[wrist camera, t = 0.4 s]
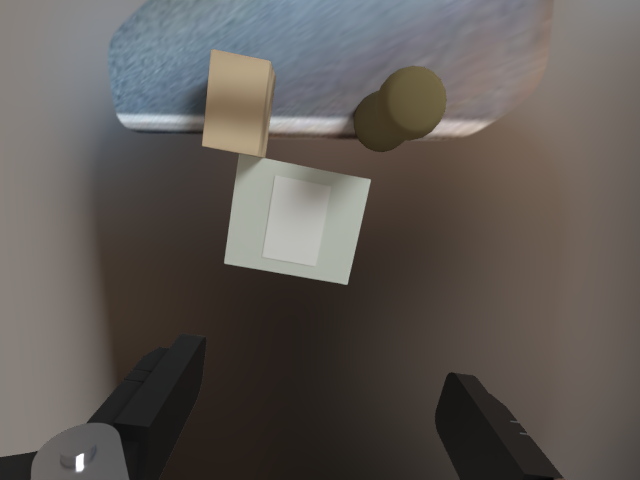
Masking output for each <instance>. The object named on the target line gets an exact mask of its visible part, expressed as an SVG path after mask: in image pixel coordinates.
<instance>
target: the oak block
mask: <svg viewBox="0 0 640 480" xmlns="http://www.w3.org/2000/svg"><path fill="white" fill-rule="evenodd" d="M275 81H276V76H275V73H274V70H273V67H272V64H271V62H270V61H268V60H263V59H258V58H253V57H248V56H243V55H238V54H234V53H229V52H224V51H219V50H214V49H211V58H210V68H209V79H208V89H207V100H206V110H205V121H204V131H203V142H202V146H205V147H209V148H214V149H219V150H224V151H229V152H235V153H240V154H246V155H251V156H257V157H262V158H265V155H266V147H267V140H268V132H269V124H270V117H271V110H272V102H273V95H274V88H275Z"/></svg>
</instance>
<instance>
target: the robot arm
mask: <svg viewBox="0 0 640 480" xmlns="http://www.w3.org/2000/svg"><path fill="white" fill-rule="evenodd" d="M206 342H207V339H206V337H205V336H197V335H191V334H184V333H182V334H180V335H179V337H178V338H177V339H176V341H175V342H174V343H173V345H172V346H171V347H170V348H162V347H159V348H157V349H155V350H154V351H152V352H150V353H148V354H147V355H145V356H143V358H142V359H141V360H140V361H139V362H138V364H137V365H136V366H135V367H134V368H133V371H131V372H130V373H129V374H128V375H127V376H126V378H125V379H124V381H123V382H121V383H120V384H119V386H118V387H117V388H116V389H115V390H114V392H113V393H112V394H111V395H110V396H109V397H108V398H107V400H106V401H105V402H104V403H103V404H102V405H101V407H100V408H99V409H98V410H97V411H96V412H95V414H94V415H93V416H92V417H91V418H90V419H89V421H88V422H87V423H86V424H82V425H78V426H75V427H72V428H70V429H67V430H65V431H63V432H61V433H59V434H58V435H56V436H55V437H53V438H52V439H50V440H49V441H48V442H47V443H46V444H44V445H43V447H42V448H41V449H40V450H39V451H36V452H31V453H25V454H19V455H12V456H6V457H0V480H159V478H160V476H161V474H162V472H163V470H164V468H165V466H166V464H167V461H168V459H169V457H170V455H171V453H172V451H173V449H174V447H175V445H176V443H177V440H178V438H179V436H180V434H181V432H182V430H183V428H184V426H185V424H186V422H187V419H188V417H189V415H190V413H191V411H192V409H193V407H194V405H195V403H196V400H197V398H198V395H199V392H200V388H201V384H202V379H203V370H204V361H205V352H206ZM435 424H436V429H437V432H438V434H439V436H440V438H441V441H442V442H443V444H444V447H445V449H446V451H447V453H448V455H449V457H450V459H451V462H452V464H453V466H454V468H455V470H456V472H457V474H458V476H459V478H460V480H568V479H564V478H563V477H562V475H561V474H560V473H559V472H558V470H557V469H556V468H555V467H554V465H552V463H551V462H550V461H549V459H548V458H547V457H546V455H545V454H544V453H543V452H542V451H541V449H540V448H539V447H538V446H537V444H536V443H535V442H534V441H533V439H532V438H531V437H530V436H528V435H527V432H526V431H525V429H524V428H523V427H522V426H521V425H520V424H519V423H517V420H516V418H515V417H514V416H513V415H512V413H511V412H510V411H509V410H508V408H507V407H506V406H505V405H503V404H502V403H501V402H500V401H499V400H497V399H496V398H495V397H494V396H492V395H491V394H489V393H488V392H487V390H486V389H485V388H484V387H483V385H482V384H481V383H480V381H479V380H478V379H477V378H476V377H475V376H473V375H466V374H460V373H452V372H451V373H449V374H448V375H447V377H446V380H445V383H444V386H443V390H442V393H441V396H440V399H439V402H438V405H437V408H436V413H435Z"/></svg>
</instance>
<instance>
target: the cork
mask: <svg viewBox="0 0 640 480" xmlns="http://www.w3.org/2000/svg"><path fill="white" fill-rule="evenodd" d="M446 101H447V99H446V92H445V88H444V86H443V83H442V81H441V79H440V78H439V77H438V76H437V75H436V74H435V73H434V72H433V71H431V70H429V69H427V68H425V67H418V66H410V67H406V68H402V69H399V70H398V71H396V72H395V73H393V74H391V75H390V76H389V77H388V79H387V80H386V81H385V82H384V83H383V85H382V86H381V88H380V90H379V91H376V92H374V93H372V94H370V95H369V96H367V97H366V98H364V99H363V101H362V102H361V103H360V104H359V105H358V108H357V110H356V112H355V115H354V129H355V133H356V135H357V137H358V139H359V141H360V142H361V143H362V144H363V145H364V146H365V147H366V148H368V149H371V150H373V151H378V152H385V151H389V150H392V149H394V148H396V147H397V146H399V145H400V144H401V143H403V142H404V141H405V140H408V141H410V140H414V139H418V138H422V137H424V136H425V135H427V134H429V133H430V132H432V130H433V129H434V128H435V127H436V126H437V125H438V124H439V122H440V121H441V119H442V117H443V114H444V112H445V108H446Z"/></svg>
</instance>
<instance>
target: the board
mask: <svg viewBox="0 0 640 480" xmlns="http://www.w3.org/2000/svg"><path fill="white" fill-rule="evenodd" d="M370 181H371V180H370V179H365V178H360V177H355V176H350V175H345V174H340V173H335V172H330V171H325V170H320V169H315V168H310V167H305V166H300V165H295V164H290V163H285V162H280V161H275V160H270V159H265V158H260V157H255V156H250V155H245V154H240V153H239V156H238V165H237V171H236V179H235V186H234V194H233V201H232V208H231V217H230V223H229V231H228V238H227V246H226V253H225V260H224V263H225V264H230V265H236V266H241V267H248V268H253V269H259V270H265V271H271V272H276V273H282V274H288V275H294V276H300V277H306V278H311V279H317V280H323V281H329V282H335V283H341V284H346V285H347V284H348V279H349V275H350V271H351V266H352V262H353V257H354V253H355V248H356V244H357V239H358V235H359V230H360V226H361V222H362V217H363V213H364V208H365V204H366V199H367V195H368V190H369V186H370Z"/></svg>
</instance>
